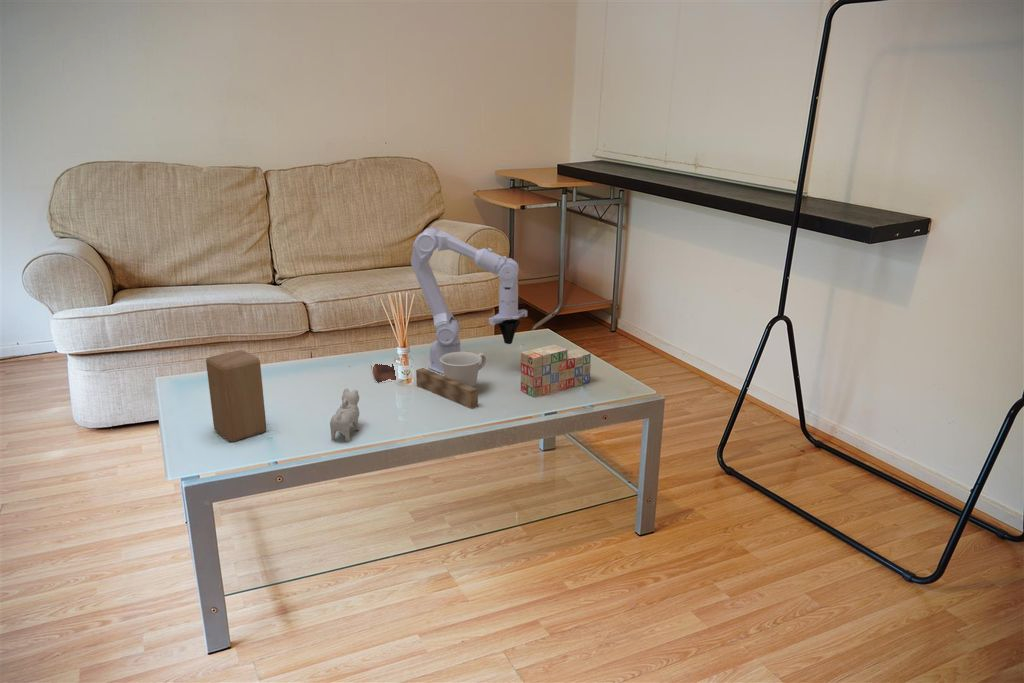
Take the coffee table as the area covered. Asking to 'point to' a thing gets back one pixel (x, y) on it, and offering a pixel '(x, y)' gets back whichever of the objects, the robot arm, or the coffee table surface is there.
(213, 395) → the wooden block
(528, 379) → the stack of blocks
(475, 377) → the teacup
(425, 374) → the walnut board
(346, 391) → the grey animal figure
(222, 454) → the coffee table surface
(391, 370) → the wooden tablet
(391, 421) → the coffee table surface
